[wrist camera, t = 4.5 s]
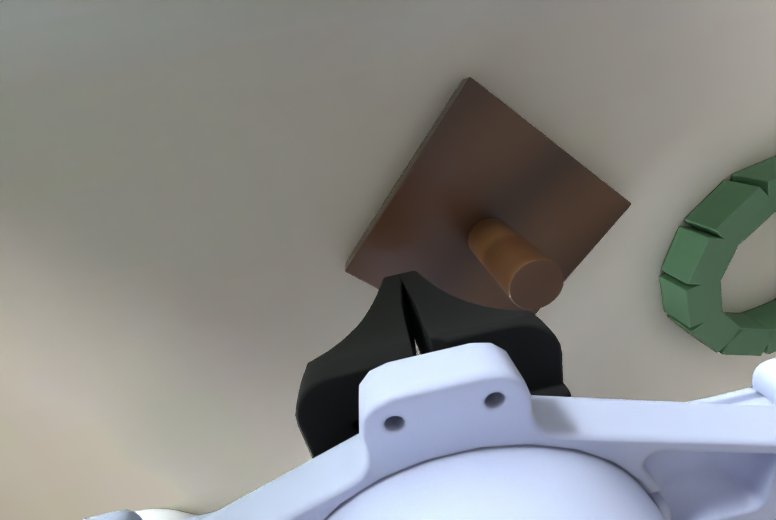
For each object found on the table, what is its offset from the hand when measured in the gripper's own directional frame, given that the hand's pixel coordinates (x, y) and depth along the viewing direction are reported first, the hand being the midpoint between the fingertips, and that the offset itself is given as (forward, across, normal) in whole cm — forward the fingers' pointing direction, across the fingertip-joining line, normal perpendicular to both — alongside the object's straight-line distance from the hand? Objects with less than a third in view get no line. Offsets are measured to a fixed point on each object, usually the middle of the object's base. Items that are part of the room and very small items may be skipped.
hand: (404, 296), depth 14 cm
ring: (+5, -20, +5) cm, 21 cm away
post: (+4, -5, 0) cm, 6 cm away
